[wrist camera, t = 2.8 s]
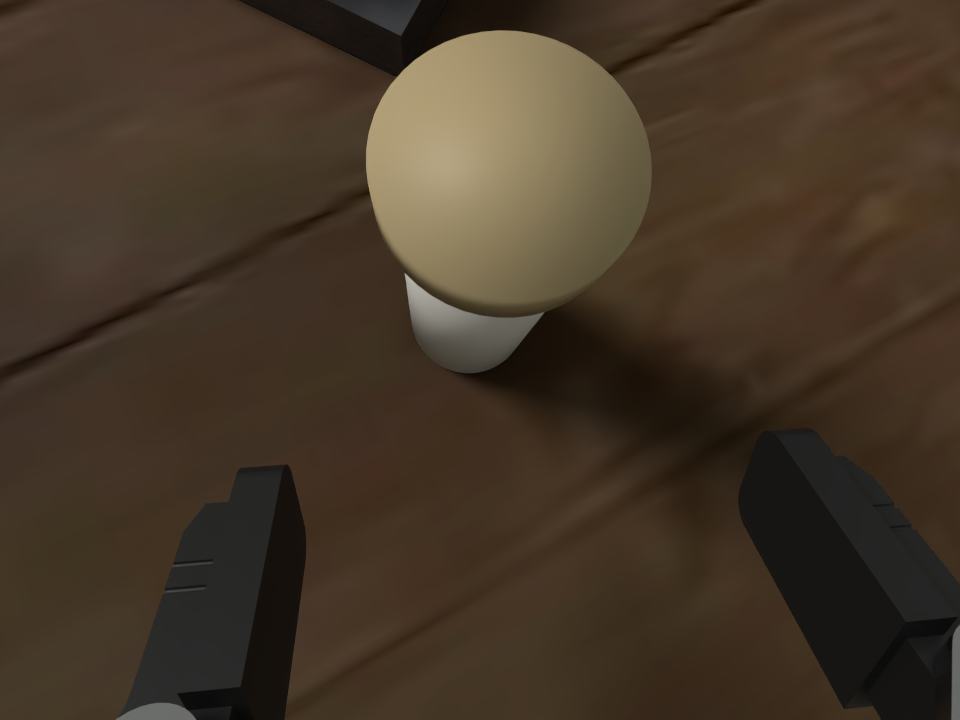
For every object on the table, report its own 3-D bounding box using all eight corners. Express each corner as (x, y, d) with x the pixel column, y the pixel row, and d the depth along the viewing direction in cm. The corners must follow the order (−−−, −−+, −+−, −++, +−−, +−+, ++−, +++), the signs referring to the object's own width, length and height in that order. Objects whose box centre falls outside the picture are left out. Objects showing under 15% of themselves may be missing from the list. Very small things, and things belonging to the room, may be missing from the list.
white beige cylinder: (375, 347, 22) (314, 221, 10) (436, 228, 23) (444, -15, 11) (500, 408, 22) (583, 351, 10) (557, 287, 23) (693, 106, 11)
